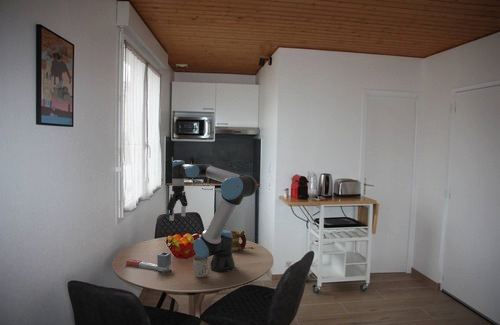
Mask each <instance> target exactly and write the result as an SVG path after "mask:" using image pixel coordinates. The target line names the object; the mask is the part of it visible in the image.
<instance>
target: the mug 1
mask: <svg viewBox="0 0 500 325" xmlns="http://www.w3.org/2000/svg"><path fill="white" fill-rule="evenodd" d="M208 258H209V257H207V258H200V257H198V256H197V255H196V256H194V257H193V258H192V262H193V271H194V272H193V273H194V277H196V278H203V277H205V276H209V274H210V272H211V268H210V266H209V264H208V260H209V259H208Z"/></svg>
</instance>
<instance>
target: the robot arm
mask: <svg viewBox="0 0 500 325" xmlns="http://www.w3.org/2000/svg"><path fill="white" fill-rule="evenodd" d="M171 166H172V167H171V168H172V169H171V170H172V173H171V174H172V175H171V176H172V177H171V178H172V180H171V182H172V183H171V184H172V185H171V191H172V193H170V195H169V196H170V198H169V200H168V203H167V207H166V209H167V210H168V211H169V221H171V222H172V221H174V220H175V209H174V208H175V206H176V204H177V202H178V201H179V202H180V204H181V207H180V208H181V209H180V210H181V212H180V213H181V214H180V216H181V217H186V207H188V205H189V204H188V199H187V195H186V191H185V177H189V178H196V177H206V178H209V179H212V180H214V181H217V182H220V183H221V185H220V193H221V194H220V197H221V201H220V202H219V205H218V207H217V209H216V211H215V212H214V215H213V217H212V219H211V221H210V223H209V225H208V227H207V229H205V230H203V231H202V234H201V235H200V237H198V238H196V239H195V240H193V241H194V242H193V250H194V253H195V254H196V256H198V257H200V258H209V257H212V258H211V261H210V266H209V268H210V270H211V271H214V272H217V273H218V272H219V273H221V272H230V271H233V270H234V269H235V266H236V263H235V260H234V257H233V252H232V242H233V236H232V232H231V231H232V230H227V229H225V228H226V226H227V224H228V222H229V220H230V219H231V217H232V214H233V213H234V210H235V209H236V207H237V206H239V205H241V204H242V202H243V199H244V198H246V197H251V196H253V195H254V194H255V193H256V191H257V189H258V183H257V181H256V179H255V178H254V177H253V176H251V175H247V174H243V173H241V174H238V173H235V172H232V171H229V170H225V169H221V168H219V167H215V166H213V165H212V164H211V163H204V164H203V163H202V164H196V163H195V164H186V162H185V160H173V161H172V165H171Z"/></svg>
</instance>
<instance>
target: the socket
mask: <svg viewBox="0 0 500 325" xmlns="http://www.w3.org/2000/svg"><path fill="white" fill-rule="evenodd" d="M156 261H157V263H156V264H157V266H158V267H164V268H166V267H168V266H169V265H170V266H171V265H172V252H166V251H163V252H161V253H158V254H157V260H156Z"/></svg>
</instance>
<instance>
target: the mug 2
mask: <svg viewBox="0 0 500 325" xmlns="http://www.w3.org/2000/svg"><path fill="white" fill-rule="evenodd" d="M230 231H231V232H232V236H233V242H232V253H236V252H238V251H240V250H241V251H243V250H244V249H245V248H246V245H247V238H246V235H245V231H244V230H242V231H241V232H240V233H239V231H235V230H230ZM240 239H241V243H240Z"/></svg>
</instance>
